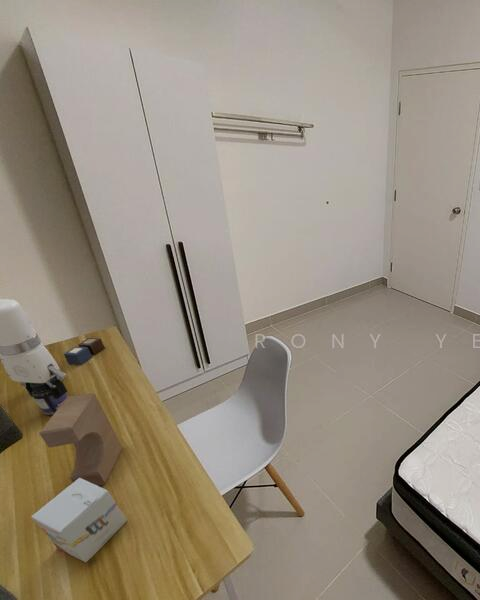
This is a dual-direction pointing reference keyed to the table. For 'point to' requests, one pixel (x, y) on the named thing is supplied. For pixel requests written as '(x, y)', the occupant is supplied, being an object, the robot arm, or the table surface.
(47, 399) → the pill bottle
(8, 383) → the table surface
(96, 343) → the block
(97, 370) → the table surface
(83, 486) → the ink box
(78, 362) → the block
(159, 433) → the table surface
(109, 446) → the decorative block
